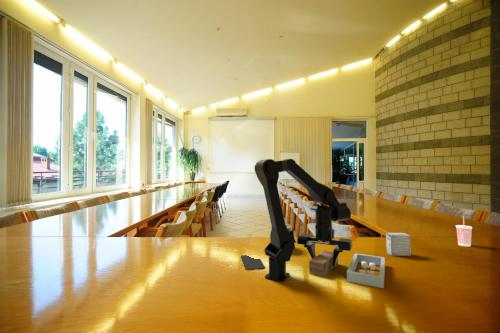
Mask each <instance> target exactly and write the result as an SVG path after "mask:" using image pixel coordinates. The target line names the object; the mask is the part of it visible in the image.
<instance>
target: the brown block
mask: <svg viewBox="0 0 500 333" xmlns="http://www.w3.org/2000/svg"><path fill="white" fill-rule="evenodd" d="M338 265H339V257H338V258H337V261H336V264H335V267H336V266H338ZM308 266H309V267H308V272H309V273H308V274H310V275H314V276H319V277H321V278H324V277H325V276H326V275H327V274H329V273H330V272H331V271H332V270H333V269H334V268H333V251H329V250H324V251H322V252H321V253H319V254H318V255H316V257H315V258H313V259H312V258H311V259H310V260H308Z"/></svg>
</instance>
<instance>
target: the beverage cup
mask: <svg viewBox="0 0 500 333" xmlns="http://www.w3.org/2000/svg"><path fill="white" fill-rule="evenodd" d="M455 228H456V236H457V237H456V238H457V244H458V246H461V247H466V248H467V247H471V246H472V229H473V226H471V225H465V215H462V224H456V225H455Z"/></svg>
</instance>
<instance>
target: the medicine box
mask: <svg viewBox="0 0 500 333" xmlns="http://www.w3.org/2000/svg"><path fill="white" fill-rule="evenodd" d="M385 243H386V253H387V254H388V255H389V256H393V257H394V256H395V257H397V256H398V257H399V256H401V257H411V255H412V253H411V252H412V251H411V247H412V246H411V235H409V234H407V233H405V232H386V240H385Z"/></svg>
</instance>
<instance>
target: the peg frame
mask: <svg viewBox="0 0 500 333" xmlns="http://www.w3.org/2000/svg"><path fill="white" fill-rule="evenodd" d="M385 259H386V257H384V256H377V255H370V254H362V253H361V254H360V253H354V254H353V257H352V259H351V261H350V264H349V266H348V268H347V270H346V282H349V283H354V284H358V285H359V284H360V285H365V286H369V287H373V288H379V289H380V288H381V289H384V288H385V271H386V260H385ZM358 264H361V269H358V271H356V268H357V266H358ZM376 266H379V273H378V274H379V275H376V274H375V272H374V271H376ZM368 268H369V270H367V269H368ZM366 270H367V272H366Z"/></svg>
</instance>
